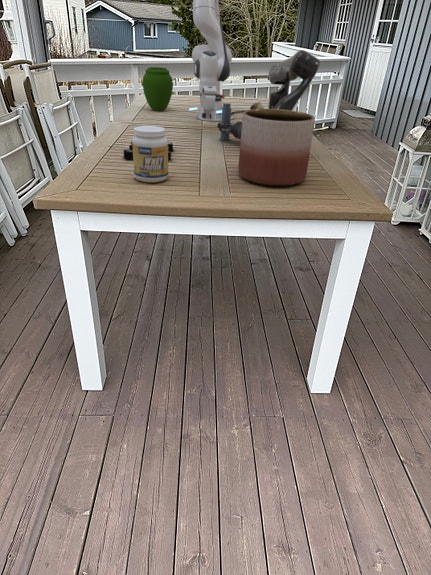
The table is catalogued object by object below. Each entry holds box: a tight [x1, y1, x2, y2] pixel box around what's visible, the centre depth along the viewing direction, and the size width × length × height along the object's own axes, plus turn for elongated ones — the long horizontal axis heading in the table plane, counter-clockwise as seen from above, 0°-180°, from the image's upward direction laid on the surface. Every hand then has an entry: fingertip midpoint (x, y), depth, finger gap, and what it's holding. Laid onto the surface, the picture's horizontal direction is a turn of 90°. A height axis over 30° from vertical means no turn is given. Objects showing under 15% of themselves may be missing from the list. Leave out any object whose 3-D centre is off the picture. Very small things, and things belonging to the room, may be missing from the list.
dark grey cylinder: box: [220, 102, 232, 142], centre depth 199 cm, size 4×4×17 cm
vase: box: [141, 66, 174, 112], centre depth 261 cm, size 20×20×24 cm
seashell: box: [249, 101, 265, 110], centre depth 266 cm, size 10×6×8 cm, turn 97°
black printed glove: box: [123, 140, 174, 161], centre depth 177 cm, size 19×3×30 cm
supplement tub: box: [131, 125, 169, 183], centre depth 142 cm, size 12×12×17 cm
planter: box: [237, 108, 316, 187], centre depth 148 cm, size 25×25×22 cm
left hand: (206, 118), depth 212 cm, fingers closed on lid, 4 cm apart
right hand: (222, 124), depth 202 cm, fingers closed on dark grey cylinder, 4 cm apart
